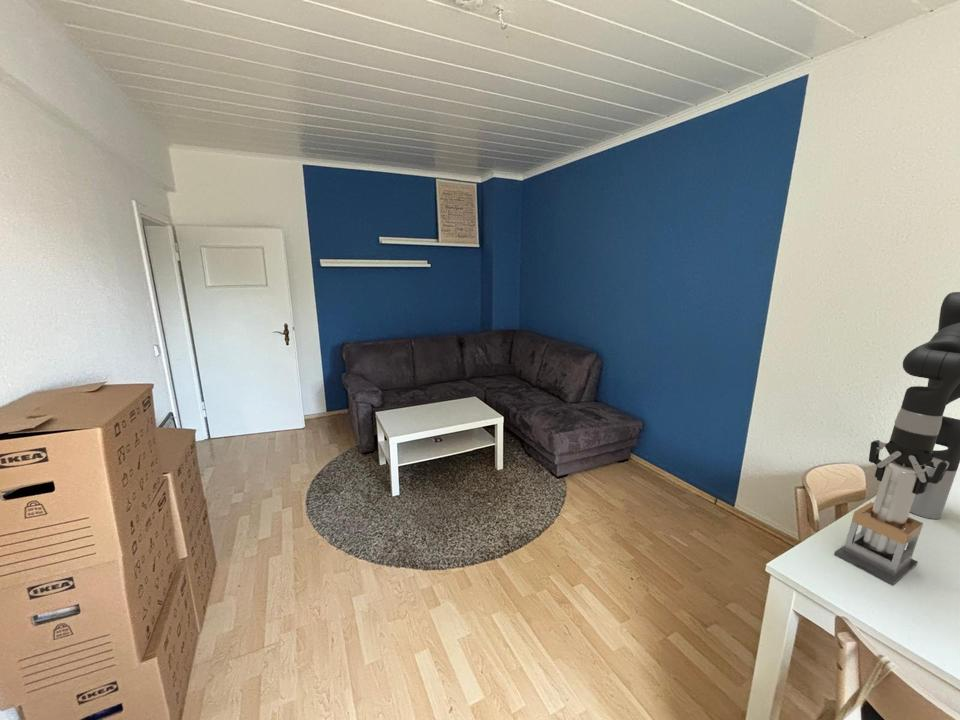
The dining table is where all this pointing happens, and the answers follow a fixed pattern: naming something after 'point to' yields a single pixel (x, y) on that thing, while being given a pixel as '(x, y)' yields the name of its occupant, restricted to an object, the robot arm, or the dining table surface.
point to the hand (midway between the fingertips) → (897, 486)
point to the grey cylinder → (892, 504)
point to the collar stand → (875, 562)
